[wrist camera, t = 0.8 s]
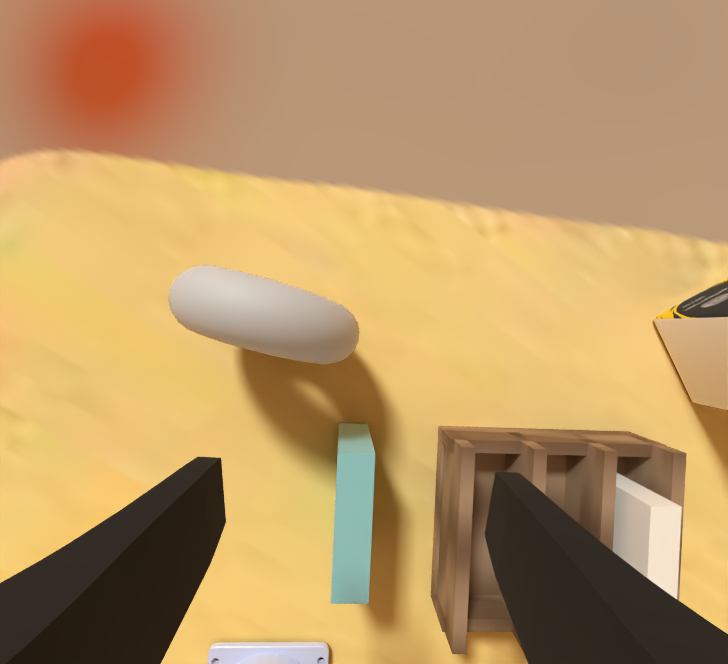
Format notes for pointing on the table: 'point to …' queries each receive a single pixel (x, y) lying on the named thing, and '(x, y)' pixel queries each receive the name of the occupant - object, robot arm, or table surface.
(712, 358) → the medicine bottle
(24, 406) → the table surface
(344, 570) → the teal upright slab
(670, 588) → the off-white rectangular block
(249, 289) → the grey donut
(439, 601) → the rack
